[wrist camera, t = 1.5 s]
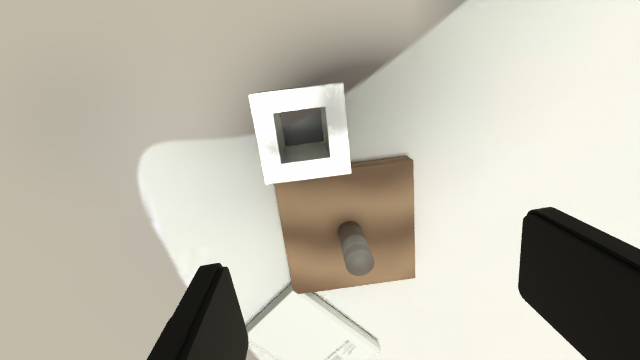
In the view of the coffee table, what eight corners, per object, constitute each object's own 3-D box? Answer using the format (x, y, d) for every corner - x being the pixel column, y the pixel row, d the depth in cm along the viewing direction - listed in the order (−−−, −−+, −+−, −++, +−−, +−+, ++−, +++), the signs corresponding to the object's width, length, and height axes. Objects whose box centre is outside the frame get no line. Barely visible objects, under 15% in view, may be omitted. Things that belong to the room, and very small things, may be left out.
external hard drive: (295, 277, 30) (378, 339, 33) (243, 326, 31) (327, 381, 35) (295, 288, 28) (381, 352, 32) (240, 339, 30) (328, 395, 33)
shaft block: (274, 173, 26) (266, 200, 20) (407, 156, 27) (439, 177, 20) (294, 284, 30) (292, 336, 24) (409, 268, 30) (437, 316, 24)
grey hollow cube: (260, 92, 24) (248, 94, 18) (333, 83, 24) (343, 82, 19) (272, 162, 26) (265, 184, 20) (340, 153, 26) (351, 173, 20)
